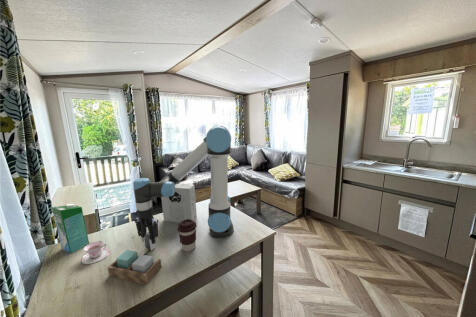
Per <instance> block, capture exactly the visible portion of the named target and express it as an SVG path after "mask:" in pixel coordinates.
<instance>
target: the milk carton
mask: <svg viewBox="0 0 476 317" xmlns="http://www.w3.org/2000/svg"><path fill="white" fill-rule="evenodd" d="M51 210H52V215H53V219H54V224H55V228H56V230H57V235H58V236H57V237H58V239H59V244H60V247H61V250H62V249H63V251H64V250H65V251H64V252H66V251H67V252H66V253H68V252H69V254H70V253H71V254H72V252H73V253H74V252H76V251H78V250H80V249H82V248H84V247H85V245H86V246H87V245H88V244H90V241H89V236H88V231H87V226H86V222H85V216H84V212H83V207H82V206H79V205H76V203H67V204H65V205H61V206H60V205H59V206H51Z"/></svg>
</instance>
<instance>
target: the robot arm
mask: <svg viewBox="0 0 476 317" xmlns="http://www.w3.org/2000/svg"><path fill="white" fill-rule="evenodd" d="M231 143H232V136H231V133H230V131H229V129H228V128H227V127H225V126H223V125H215V126H213V127H211V128H209V130H208V131H207V132H206V136H204V138H203V139H202V142H201V143H200V144H199V145H198V146H197V147H196V148H195V149H193V151H191V152H190V153H189V154H188V155H187V156H186V157H185V158H183V159H182V160H181V161H180V162H179V163H178V164H177V165H176V166H174V168H173V169H172V170H170V171H169V172H168V173H167V174H166V175H165V176H164V177H163V178H162V179H161V180H160V181H156V182H154V181H153V182H151V180H150V179H149V178H148V177H141V178H137V179H134V181H133V183H132V186H133V189H132V190H133V194H134V200H135V209H136V216H137V217H136V218H135V219H133V220H134V222H135V226H136V230H137V234H138V235H137V236H138V237H141V239H142V243H143V247H144V250H146V249H147V248H146V241H145V234H146V233H147V230H148V232H149V235H150V239H149V241H150V249H151V250H150V251H153V250H154V249H155V248H156V238H157V237H158V236H159V219H155V218H154V208H153V200H152V198H161V197H168V196H173V195H174V193H175V185H176V184H179V182H180V181H182V180H183V179H184V178H185V177H186V176H187V175H188V174H189V173H190V172H192V170H194V169H195V168H196V167H197V166H199V165H200V163H202V162H203V161H204V160H205V159H206V158H208V157H210V158H209V160H210V199H209V203H208V206H207V207H208V209H207V210H208V219H207V226H208V232H209V234H210V236H212V237H214V238H219V239H220V238H227V237H230V235H232V234H233V232H234V224H233V222H232V219H231V198H230V196H229V195H228V190H229V189H228V186H229V184H228V183H229V182H228V179H229V176H228V175H229V174H228V173H229V172H228V166H229V165H228V164H229V163H228V161H229V159H228V157H229V156H230V155H231V152H232V151H231V150H232V149H231V148H232V147H231V146H232V145H231Z"/></svg>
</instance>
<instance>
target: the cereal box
mask: <svg viewBox="0 0 476 317" xmlns="http://www.w3.org/2000/svg"><path fill="white" fill-rule="evenodd" d="M195 188H196V187H195V184H185V183H177V184H176V185H175V193H174V195H173V196H168V197H160V199H161V206H162V208H161V209H162V216H163V218H162V219H163V221H165V222H172V223H173V222H174V223H181V221H183V220H186V219H191V220H193V221H195V222H196V220H197V219H198V217H197V215H198V214H197V201H196V189H195Z"/></svg>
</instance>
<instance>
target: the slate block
mask: <svg viewBox="0 0 476 317" xmlns="http://www.w3.org/2000/svg"><path fill="white" fill-rule="evenodd" d="M140 255H141V254H140ZM140 255H139V256H140ZM154 263H155V262H154V257H153V256H151V255H147V254H144V255H141V256H140V257H139V258H138V259H137V260H136V261H134V262H133V263H132V268H133V271H136V272H140V273H146V272H147V271H148V269H149V268H150V267H151V266H152V265H153V264H154Z"/></svg>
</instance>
